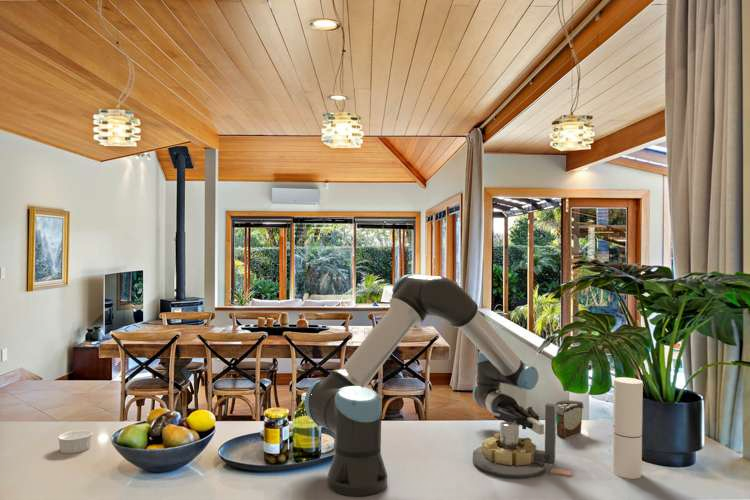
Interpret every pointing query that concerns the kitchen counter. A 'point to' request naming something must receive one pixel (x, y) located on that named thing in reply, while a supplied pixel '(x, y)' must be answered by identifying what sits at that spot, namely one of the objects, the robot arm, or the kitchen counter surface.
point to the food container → (568, 418)
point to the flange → (510, 442)
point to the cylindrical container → (627, 427)
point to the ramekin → (75, 441)
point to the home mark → (561, 472)
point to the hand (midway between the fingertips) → (541, 429)
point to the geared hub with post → (525, 445)
